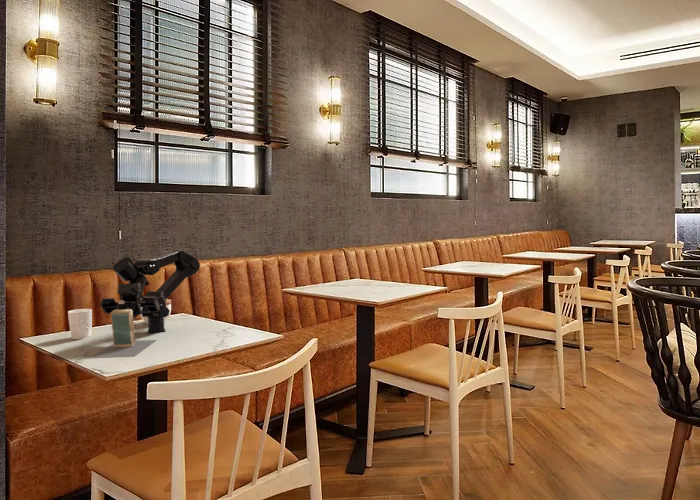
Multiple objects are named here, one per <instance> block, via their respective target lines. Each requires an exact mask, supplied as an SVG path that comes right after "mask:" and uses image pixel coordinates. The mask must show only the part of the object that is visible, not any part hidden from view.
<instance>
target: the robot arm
mask: <svg viewBox="0 0 700 500" xmlns="http://www.w3.org/2000/svg"><path fill="white" fill-rule="evenodd" d="M171 264H174V266H175V271H174V272H173V273H172V274H171V275H170V276H169V277H168V278H167V279H166V280H165V281H164V282H163V283H162V284H161V285H160V286H159V287H158V288H157V290H156V291H153V290H152V291H147V292H145V294H144V289H145V286H149V285H150V281H149V280H148V278H147V277H146V276H154V275H156V273H158V272H159V271H160V269H162V268H163V267H166V266H168V265H171ZM200 267H201V263H200V262H199V260H198V259H197V258H195V256H192V255H190V254H189V253H186V251H184V250H183V249H172V250H170V251H168V252H166V253H164V254H161V255H158V256H155V257H152V258H142V259H137V260H136V261H134V262H133V261H132V260H131V258H130V257H129V256H123V258H122V259H120V260H118V261H117V262H116V263H115V264H114V265H113V267H112V269H113V272H114V273H115V274H116V275H117V276H118V277H120V279H121V280H123V281H124V282H127V283H118V285H117V287H118V288H117V294H118V295H120V297H119V300H118V301H116V299H115V298H114V297H108V298H107V297H105V298H102V299H101V300H100V303H99V305H100V307H101V309H102V310H103V312H104V313H105V314H111V312H112V311H113V310H126V309H132V312H133V320H134V319H135V318H137V317H138V316H139V315H141V314H142V317H148V324H147V331H146V333H147V334H158V333H165V332H166V331H167V330H166V328H165V323H164V317H167V316H169V311H170V310H169V309H168V308H167V307H166V299H168V298H169V297H170V296H171V295H173V292H175V290H176V289H177V288H178V287H179V286H180V285H181V284H182V283H183V282H184V281H185V280H186V279H187V278H189V277H191V276H194V275H195V274H196V273H198V272H199V270H200ZM142 317H141V318H142ZM169 317H170V316H169Z"/></svg>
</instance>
